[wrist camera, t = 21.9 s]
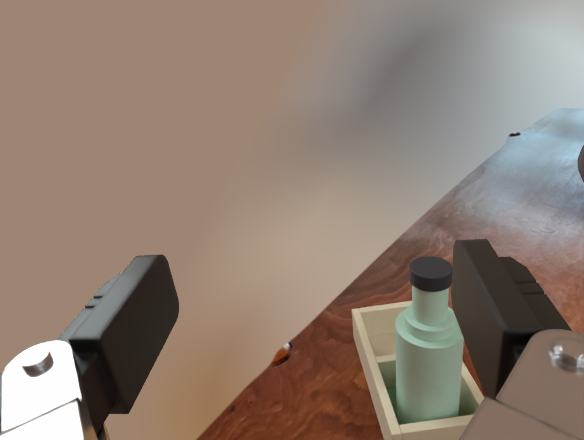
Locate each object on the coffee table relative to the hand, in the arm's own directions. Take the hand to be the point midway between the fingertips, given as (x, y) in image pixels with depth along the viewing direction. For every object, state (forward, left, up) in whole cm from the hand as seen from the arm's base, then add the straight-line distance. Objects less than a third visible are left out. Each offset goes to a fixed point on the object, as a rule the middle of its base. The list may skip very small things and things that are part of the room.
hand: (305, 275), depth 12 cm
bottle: (+10, +16, -27) cm, 33 cm away
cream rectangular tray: (+10, +20, -27) cm, 35 cm away
